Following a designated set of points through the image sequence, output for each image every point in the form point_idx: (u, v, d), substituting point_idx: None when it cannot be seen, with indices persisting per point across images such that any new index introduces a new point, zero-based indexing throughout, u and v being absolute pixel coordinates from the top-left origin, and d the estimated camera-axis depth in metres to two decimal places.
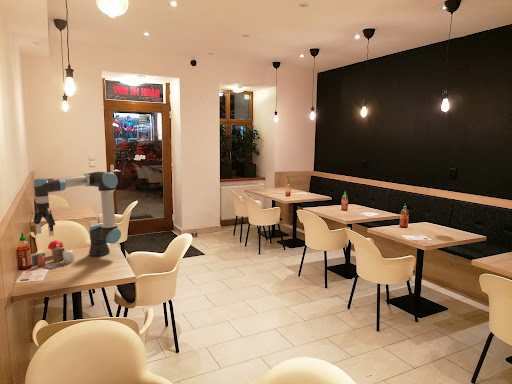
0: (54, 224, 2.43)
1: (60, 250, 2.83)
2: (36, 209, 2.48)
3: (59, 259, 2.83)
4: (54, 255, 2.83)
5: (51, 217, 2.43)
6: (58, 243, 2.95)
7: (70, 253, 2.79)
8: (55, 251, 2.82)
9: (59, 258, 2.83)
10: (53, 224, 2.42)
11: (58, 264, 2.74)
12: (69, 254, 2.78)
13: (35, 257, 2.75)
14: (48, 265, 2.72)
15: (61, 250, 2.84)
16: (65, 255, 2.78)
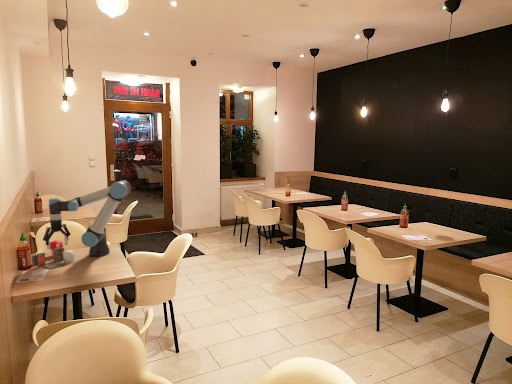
0: (44, 240, 2.75)
1: (60, 250, 2.83)
2: (63, 224, 2.88)
3: (59, 259, 2.83)
4: (54, 255, 2.83)
5: (46, 233, 2.76)
6: (58, 243, 2.95)
7: (70, 253, 2.79)
8: (55, 251, 2.82)
9: (59, 258, 2.83)
10: (43, 239, 2.75)
11: (58, 264, 2.74)
12: (69, 254, 2.78)
13: (35, 257, 2.75)
14: (48, 265, 2.72)
15: (61, 250, 2.84)
16: (65, 255, 2.78)
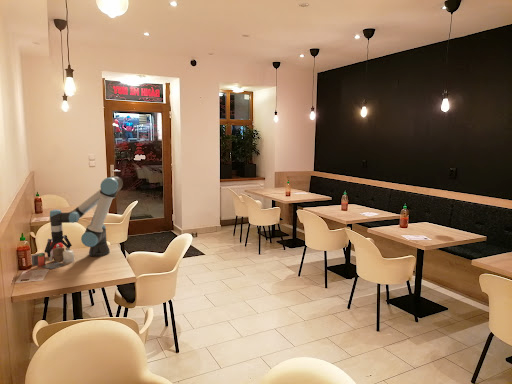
0: None
1: (60, 250, 2.83)
2: (64, 235, 2.89)
3: (59, 259, 2.83)
4: (54, 255, 2.83)
5: (47, 245, 2.77)
6: (58, 243, 2.95)
7: (70, 253, 2.79)
8: (55, 251, 2.82)
9: (59, 258, 2.83)
10: (45, 251, 2.76)
11: (58, 264, 2.74)
12: (69, 254, 2.78)
13: (35, 257, 2.75)
14: (48, 265, 2.72)
15: (61, 250, 2.84)
16: (65, 255, 2.78)
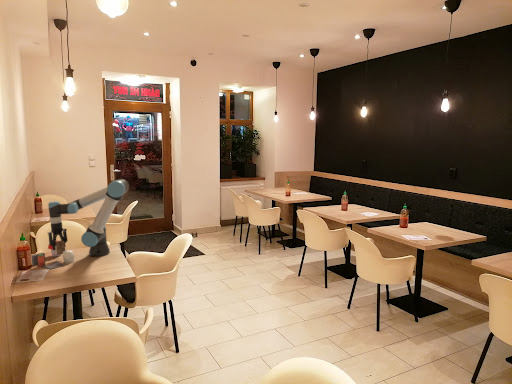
0: (50, 245, 2.78)
1: (60, 243, 2.83)
2: None
3: (59, 252, 2.82)
4: None
5: (50, 238, 2.78)
6: None
7: (70, 253, 2.79)
8: (55, 244, 2.82)
9: (60, 251, 2.82)
10: (50, 244, 2.79)
11: (58, 264, 2.74)
12: (69, 254, 2.78)
13: (35, 257, 2.75)
14: (48, 265, 2.72)
15: (61, 243, 2.83)
16: (65, 255, 2.78)
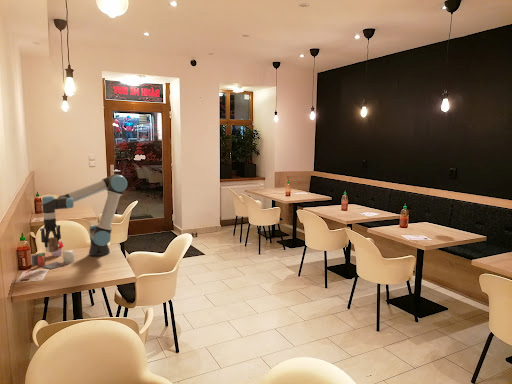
0: (43, 242, 2.64)
1: (53, 240, 2.69)
2: (57, 225, 2.74)
3: (52, 250, 2.68)
4: None
5: (42, 235, 2.64)
6: None
7: (70, 253, 2.79)
8: (48, 241, 2.68)
9: (52, 249, 2.69)
10: (42, 241, 2.65)
11: (58, 264, 2.74)
12: (69, 254, 2.78)
13: (35, 257, 2.75)
14: (48, 265, 2.72)
15: (54, 240, 2.69)
16: (65, 255, 2.78)
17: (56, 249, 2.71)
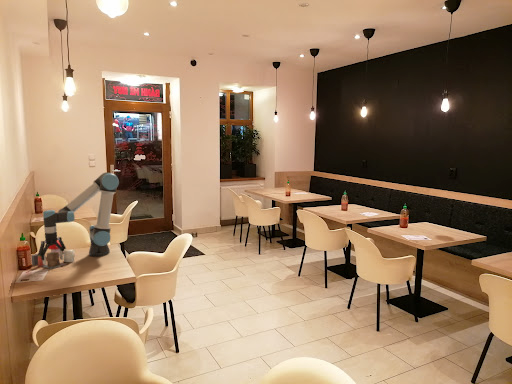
0: (39, 254, 2.63)
1: (54, 254, 2.70)
2: (58, 237, 2.76)
3: (53, 264, 2.70)
4: (48, 259, 2.70)
5: (41, 247, 2.64)
6: (58, 243, 2.95)
7: (71, 252, 2.79)
8: (49, 256, 2.69)
9: (53, 263, 2.70)
10: (38, 254, 2.63)
11: None
12: (70, 253, 2.79)
13: (35, 257, 2.75)
14: None
15: (55, 254, 2.71)
16: (66, 253, 2.78)
17: (57, 263, 2.73)
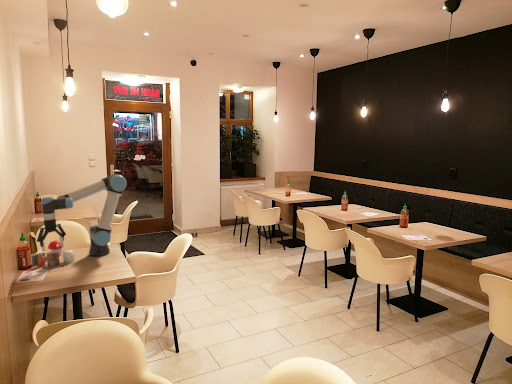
0: (38, 241, 2.61)
1: (54, 254, 2.70)
2: None
3: (53, 264, 2.70)
4: (48, 259, 2.70)
5: (40, 234, 2.63)
6: (58, 243, 2.95)
7: (70, 253, 2.79)
8: (49, 256, 2.69)
9: (53, 263, 2.70)
10: (37, 241, 2.62)
11: None
12: (69, 254, 2.78)
13: (35, 257, 2.75)
14: None
15: (55, 254, 2.71)
16: (65, 255, 2.78)
17: (57, 263, 2.73)
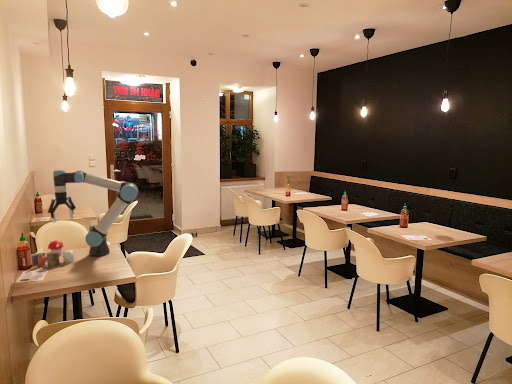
0: (49, 212, 2.69)
1: (54, 254, 2.70)
2: (67, 197, 2.82)
3: (53, 264, 2.70)
4: (48, 259, 2.70)
5: (51, 205, 2.70)
6: (58, 243, 2.95)
7: (70, 253, 2.79)
8: (49, 256, 2.69)
9: (53, 263, 2.70)
10: (48, 212, 2.69)
11: None
12: (69, 254, 2.78)
13: (35, 257, 2.75)
14: None
15: (55, 254, 2.71)
16: (65, 255, 2.78)
17: (57, 263, 2.73)
